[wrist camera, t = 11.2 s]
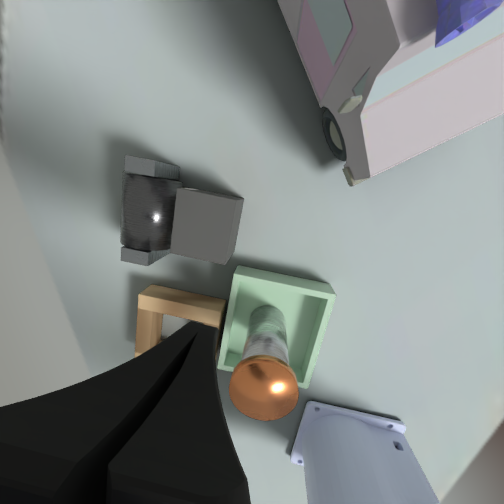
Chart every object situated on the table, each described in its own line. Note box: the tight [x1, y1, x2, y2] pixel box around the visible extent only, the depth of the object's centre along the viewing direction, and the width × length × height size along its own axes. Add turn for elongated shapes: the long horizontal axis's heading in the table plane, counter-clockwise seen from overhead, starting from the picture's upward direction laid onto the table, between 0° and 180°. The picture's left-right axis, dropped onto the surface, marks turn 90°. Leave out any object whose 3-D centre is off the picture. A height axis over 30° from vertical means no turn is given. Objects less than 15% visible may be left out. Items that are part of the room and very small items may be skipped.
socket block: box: [135, 284, 226, 361], centre depth 21 cm, size 7×7×2 cm
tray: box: [217, 265, 336, 389], centre depth 20 cm, size 8×9×2 cm
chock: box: [170, 188, 244, 265], centre depth 18 cm, size 4×4×4 cm
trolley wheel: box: [120, 155, 183, 266], centre depth 18 cm, size 4×7×4 cm, turn 169°
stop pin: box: [229, 305, 299, 421], centre depth 17 cm, size 4×4×8 cm
